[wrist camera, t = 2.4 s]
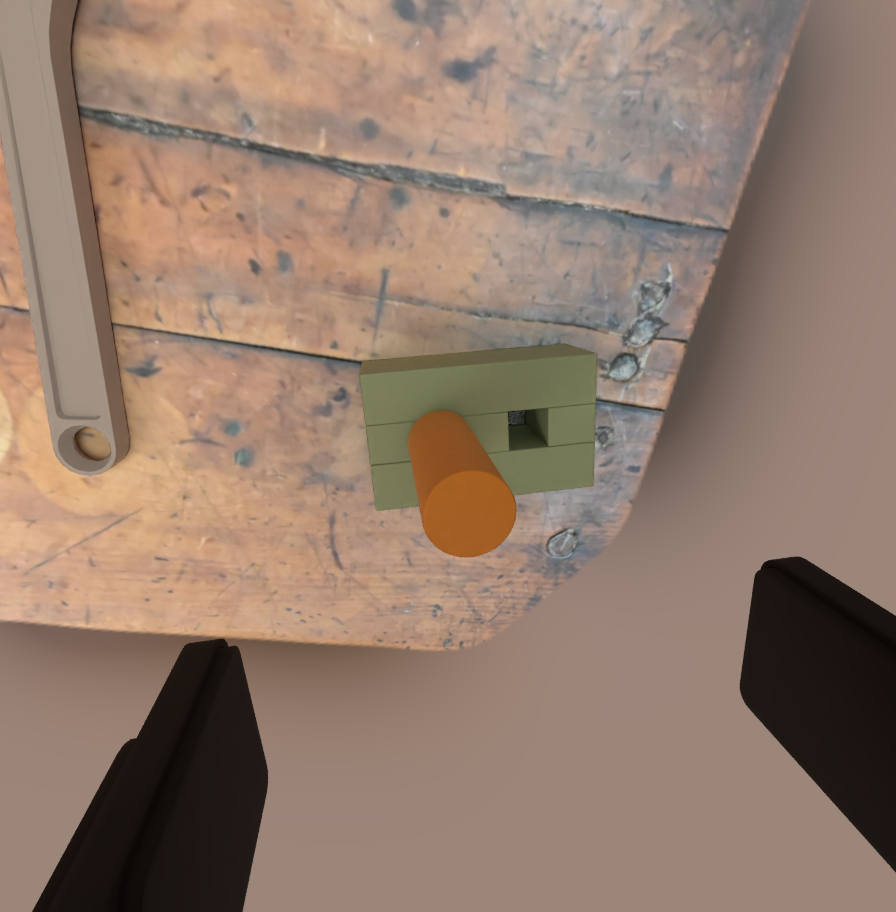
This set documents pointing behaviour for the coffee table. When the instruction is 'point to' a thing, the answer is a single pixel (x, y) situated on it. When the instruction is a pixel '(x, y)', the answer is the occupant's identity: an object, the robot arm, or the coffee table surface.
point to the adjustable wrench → (58, 231)
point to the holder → (486, 414)
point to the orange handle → (458, 487)
